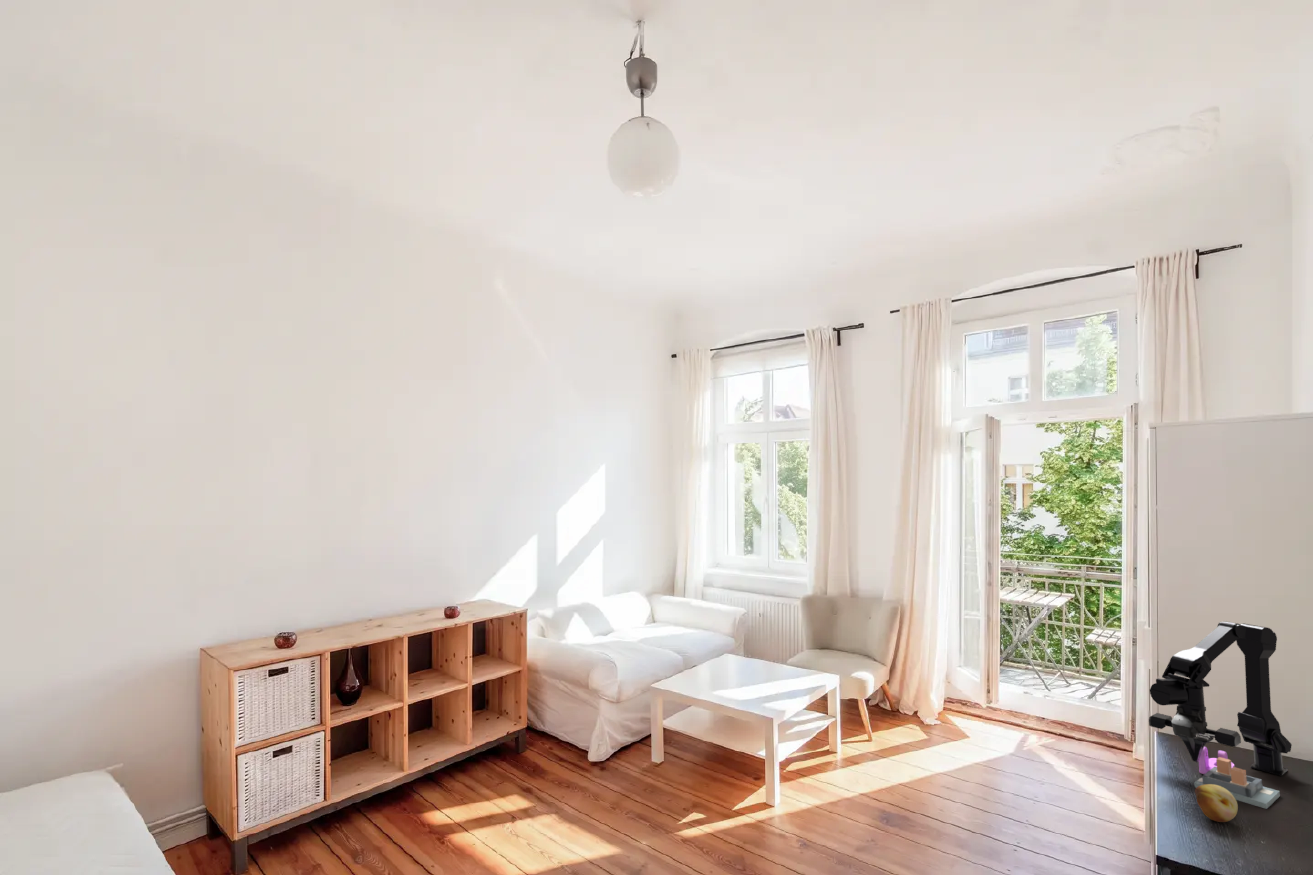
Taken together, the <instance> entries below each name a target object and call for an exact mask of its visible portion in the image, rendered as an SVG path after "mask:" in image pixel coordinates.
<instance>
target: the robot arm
mask: <svg viewBox="0 0 1313 875" xmlns="http://www.w3.org/2000/svg"><path fill="white" fill-rule="evenodd" d="M1277 641H1278V637H1277V633H1276V632H1275V631H1273V630H1272V628H1270V627H1266V626H1261V625H1254V624H1250V623H1246V622H1245V623H1238V622H1237V623H1236V622H1231V621H1227V620H1226V621H1225V620H1223V621H1220V622H1218V624H1217V627H1216V628H1214V629H1213V630H1212V631H1211V632H1210V633H1208V634H1207V635H1206V636H1205V637H1204V638H1203V639H1202V640H1200V641H1199V642H1198V643H1197V644H1196V645H1195V646H1193V647H1192V648H1188V649H1182V650H1180V651H1178V652H1177V653H1175V654H1173V655H1172V656H1171V657H1170V659H1169V661H1168V664H1167V666H1166V668H1165V670H1164V672H1163V673H1162V675H1161V678H1155V683H1153V684H1151V686H1150V689H1149V694H1150V697H1151V699H1152V700H1153V701H1154V702H1155V703H1156V704H1157V705H1160V706H1173V705H1176V713H1175V714H1174V716H1173V717H1172V716H1171V715H1169V714H1168V715H1167V714H1163V713H1159V712H1156V713H1154V714H1152V715H1150V716H1149V718H1148V726H1149V727H1151V728H1156V729H1159V730H1163V729H1165V727H1170V728H1172V731H1173V734H1174V736H1177V737H1179V739H1181V741H1183V743H1184V746H1185V747H1186V749H1187V751H1188V753H1189V756H1190V757H1191V759H1192V761H1193V762H1196V763H1199V758H1200V755H1201V753H1202V750H1203V748H1204V747H1206V744H1209V743H1211V741H1213V740H1215V741H1216V742H1217V743H1218V744H1219V745H1224V746H1228V747H1234V748H1235V747H1237V746H1238V745H1240V744H1241V743H1242V740H1241V739H1243V742H1245V743H1249V744H1252V747H1253V757H1254V758H1253V760H1254V762H1253V763H1252V764H1251V765H1249V766H1250V768H1251V769H1254V770H1258V771H1263V772H1267V773H1270V774H1273V775H1277V776H1284V774H1286V773H1287V772H1288V768H1287V767H1284V766H1283V754H1288V753H1290V752H1291V750H1292V746H1293V745H1292V743H1291V742H1290V741H1289V740H1288V738H1286V737H1285V735H1283V733H1282V732H1281V726H1280V725H1281V724H1280V722H1279V721H1278V719H1277V717H1276V715H1274V714H1273V712H1272V707H1271V706H1272V704H1271V683H1270V681H1271V680H1270V679H1271V678H1270V662H1269V661H1270V658H1271V657H1272V656H1273V654H1274V653H1275V652H1276V650H1277ZM1235 642H1236V645H1237V647H1238V648H1239V649H1240V651H1241V653H1242V654H1243V655H1244V672H1245V673H1244V674H1245V675H1244V676H1245V693H1246V694H1245V696H1246V697H1245V698H1246V707H1245V708H1244V710H1243V711H1241V712H1240V711H1239V712H1238V711H1237V727H1238V728H1239V729H1238V730H1239V732H1240V733H1239V732H1238V731H1236V730H1231V729H1228V728H1223V727H1220V728H1218V729H1217V730H1215V729H1211V728H1207V727H1208V722H1207V720H1206V718H1207V717H1206V711H1207V707H1206V706H1205V697H1204V696H1205V695H1204V688H1206V687H1207V688H1209V687H1210V683H1208V682H1207V681H1206V680H1204V679H1205V678H1206V677H1207V676H1208V674H1210V672H1211V670H1212V662H1214V661H1215V660H1216V659H1217V658H1219V656H1220V655H1222V654H1223V653H1224V652H1225V651H1226V650H1227V649H1228V648H1230V646H1232V645H1233V644H1234V643H1235ZM1241 737H1242V738H1241Z"/></svg>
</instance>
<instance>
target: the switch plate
mask: <svg viewBox="0 0 1313 875" xmlns="http://www.w3.org/2000/svg"><path fill="white" fill-rule="evenodd" d="M1216 771H1217V767H1214V768H1212V769H1211V770H1209V771H1208V772H1207V773H1205V774H1203V775H1202V777H1201V776H1200V778H1198V779H1197V780H1196V781H1194V788H1195V789H1196V788H1197V787H1198V786H1201V785H1205V784H1214V785H1219V786H1221V787H1223V788H1225V789H1227V790H1228V791H1229V792H1230V793H1231V794H1232V795H1233V796H1234V798H1235V799H1236V801H1238V802H1242V803H1246V804H1249V805H1252V806H1256V807H1258V808H1263V809H1265V810H1267V809H1268V808H1270V806H1272V805H1273V803H1274V802H1276V800H1278V799H1279V797H1280V796H1281V794H1280V793H1281V792H1280V790H1278V789H1277V790H1276V789H1274V788H1271V787H1266V786H1263V779H1261V778H1258V777H1253V776H1251V775H1247V774H1246V779H1247V783H1249V785H1248V786H1247V787H1243V786H1239V785H1236V784H1232V783H1230V781H1232V780H1231V776H1227V775H1224V774H1220V773H1217V772H1216Z"/></svg>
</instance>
